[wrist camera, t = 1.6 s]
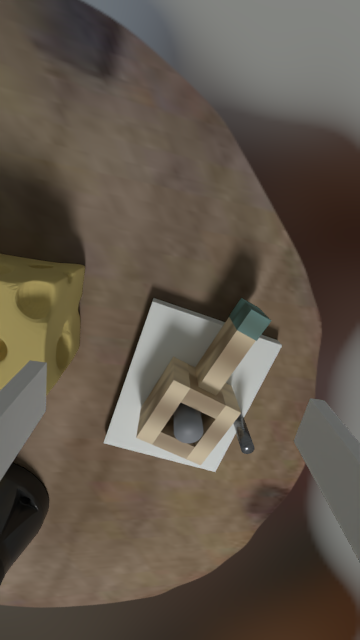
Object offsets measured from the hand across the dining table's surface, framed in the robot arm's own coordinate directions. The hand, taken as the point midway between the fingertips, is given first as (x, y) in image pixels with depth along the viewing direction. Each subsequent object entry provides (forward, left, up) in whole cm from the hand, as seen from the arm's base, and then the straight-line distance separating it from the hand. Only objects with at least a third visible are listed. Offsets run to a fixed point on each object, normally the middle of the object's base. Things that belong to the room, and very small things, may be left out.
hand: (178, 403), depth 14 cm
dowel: (-11, -12, -17) cm, 24 cm away
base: (-11, -5, -19) cm, 22 cm away
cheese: (-6, +14, -19) cm, 24 cm away
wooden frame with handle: (-6, -6, -17) cm, 19 cm away
